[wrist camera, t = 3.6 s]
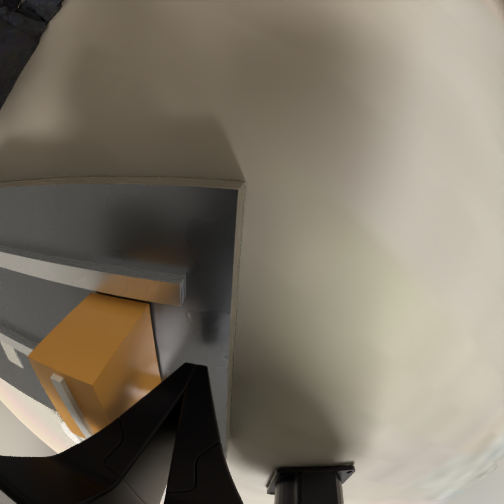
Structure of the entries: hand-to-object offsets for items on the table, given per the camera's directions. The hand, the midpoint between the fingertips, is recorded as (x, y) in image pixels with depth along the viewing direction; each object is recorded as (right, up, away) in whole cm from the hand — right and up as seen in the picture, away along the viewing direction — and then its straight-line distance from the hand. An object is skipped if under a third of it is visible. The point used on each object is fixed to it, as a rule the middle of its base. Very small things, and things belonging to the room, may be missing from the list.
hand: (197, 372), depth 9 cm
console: (-10, 0, +4) cm, 11 cm away
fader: (-3, +1, +1) cm, 3 cm away
